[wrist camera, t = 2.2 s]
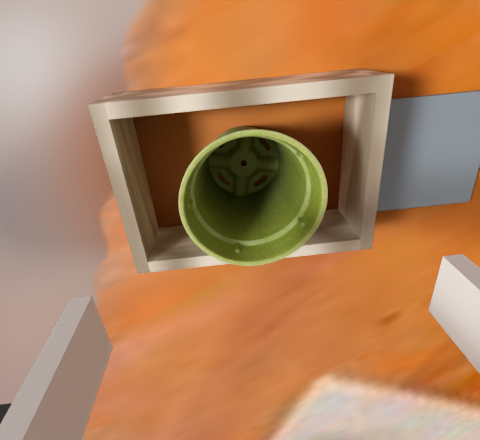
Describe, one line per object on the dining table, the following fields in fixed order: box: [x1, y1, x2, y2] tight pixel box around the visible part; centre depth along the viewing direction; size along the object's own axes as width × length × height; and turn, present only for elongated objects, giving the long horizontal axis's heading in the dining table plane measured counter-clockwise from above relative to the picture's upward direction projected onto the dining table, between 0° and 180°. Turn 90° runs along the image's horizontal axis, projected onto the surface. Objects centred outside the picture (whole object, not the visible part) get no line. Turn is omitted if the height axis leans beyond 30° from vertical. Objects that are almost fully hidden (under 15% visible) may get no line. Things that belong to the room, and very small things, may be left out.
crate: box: [88, 69, 394, 273], centre depth 25 cm, size 19×13×6 cm
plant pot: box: [178, 126, 328, 266], centre depth 24 cm, size 9×9×9 cm
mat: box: [376, 90, 480, 212], centre depth 28 cm, size 10×10×1 cm
